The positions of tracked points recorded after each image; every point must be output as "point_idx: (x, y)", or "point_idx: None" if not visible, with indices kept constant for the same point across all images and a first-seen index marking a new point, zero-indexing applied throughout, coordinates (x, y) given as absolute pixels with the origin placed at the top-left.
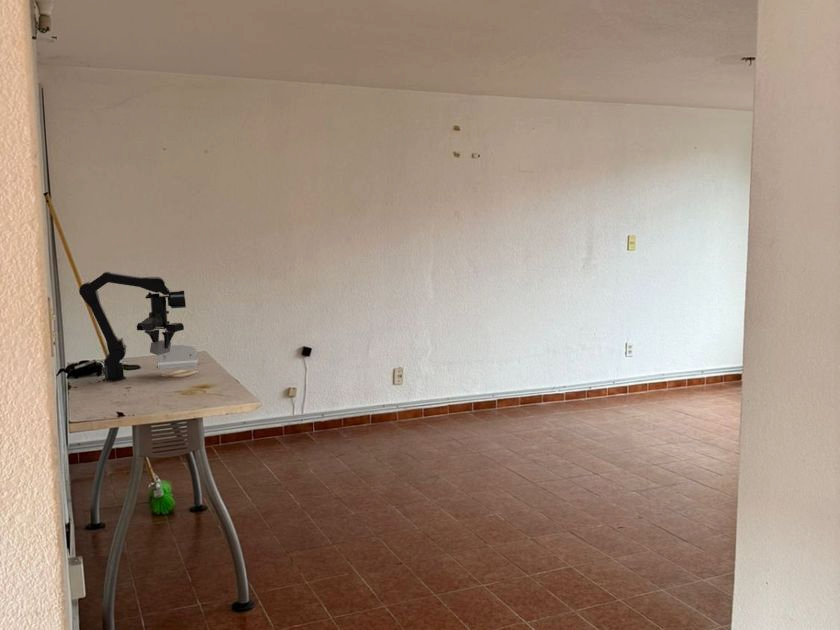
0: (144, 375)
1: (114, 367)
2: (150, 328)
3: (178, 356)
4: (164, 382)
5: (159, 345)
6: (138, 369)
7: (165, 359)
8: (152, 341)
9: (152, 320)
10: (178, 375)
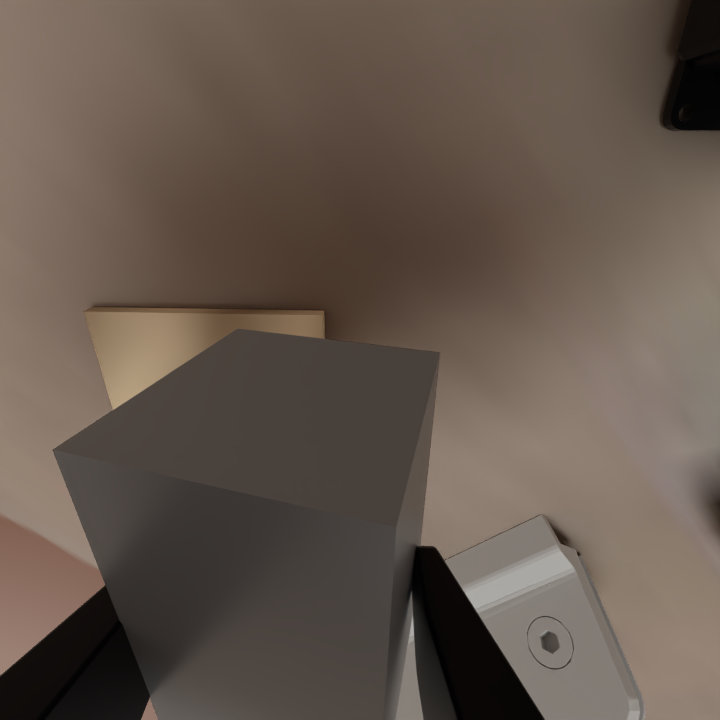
0: (523, 301)
1: None
2: None
3: None
4: (75, 56)
5: (61, 465)
6: (704, 475)
7: (532, 619)
8: (530, 699)
9: None
10: (156, 331)
